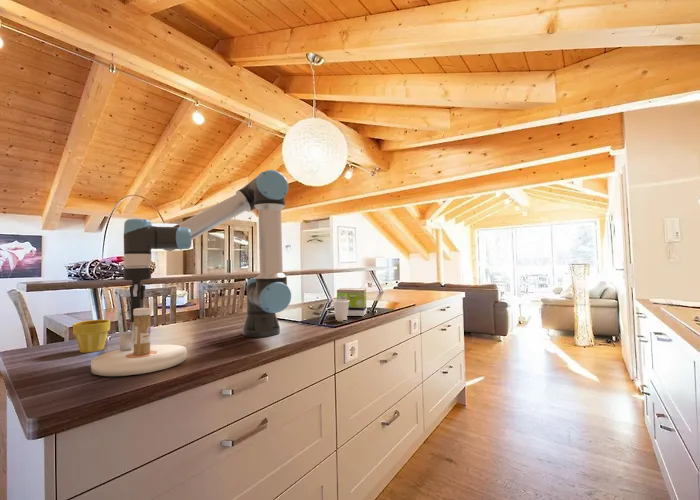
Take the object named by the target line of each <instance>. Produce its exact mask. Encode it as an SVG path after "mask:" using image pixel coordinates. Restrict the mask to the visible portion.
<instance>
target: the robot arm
mask: <svg viewBox="0 0 700 500" xmlns="http://www.w3.org/2000/svg"><path fill="white" fill-rule="evenodd" d="M288 192H289V183H288V179H287V178H286V176H285V175H284V174H283V173H282V172H279V170H275V169H268V170H265V171H261V172H260V173H259V174H258V175H257V176H256V177H254V178H253V179H252V180H250V182H249V183H247V184H245V185H244V186H242V188H240V189H237V191H235V194H234V195H232V196H230V197H228V198H226V199H224V200H223V201H220V202H218V203H217V204H214V205H212V206H211V207H209V208H206V209H205V210H203V211H201V212H199V213H197V214H195V215H192V216H191V217H190V218H187V219H186V220H184V221H182V222H180V223H177V224H176V225H173V226H155V225H152V222H151V220H149V219H146V218H145V219H143V218H129V219H126V220H125V221H124V225H123V256H124V257H121V260H122V261H123V267H125V268H124V269H123V281H131V285H130V286H129V295H130V311H131V312H130V314H131V315H130V316H131V317H130V320H128V322H129V323H131V333H132V344H133V333H134V315H133V310H134V309H136V308H145V305H144V304H145V303H144V302H145V291H146V285H145V284H144V281H145V280H147V281H148V280H151V279H152V269H151V268H150V267H151V266H152V250H164V251H167V252H173V251H175V250H181V251H182V250H189V249H191V248H192V242H193V240H195V239H197V238H198V237H200V236H202V235H204V234H206V233H207V232H210V231H212V230H214V229H215V228H217V227H219V226H220V225H222V224H224V223H226V222H227V221H230V220H231V219H233V218H235V217H237V216H239V215H241V214H243V213H244V212H248V213H249V212H252V211H253V210H257V211H258V247H259V248H258V250H259V273H258V275H257V276H256V277H253V278H250V279H248V280H247V282H246V286H245V287H246V317H245V321H244V324H243V327H242V336H243V337H246V338H247V337H248V338H263V337H272V336H276V335H279V334H280V332H281V329H280V328H281V326H280V324H279V321H278V318H277V317H278V316H277V314H278V313H281V312H283V311H285V310H286V308H288V306H290V303H291V300H292V292H291V289H290V287H289V286H288V279H287V278H288V276H287V275H286V274H285V273H284V272H283V271H284V270H283V268H284V267H283V241H282V240H283V235H282V233H283V232H282V211H283V210H284V208H286V199H285V198H286V196H287V194H288Z"/></svg>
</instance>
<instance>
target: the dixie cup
mask: <svg viewBox="0 0 700 500" xmlns="http://www.w3.org/2000/svg"><path fill="white" fill-rule="evenodd" d="M332 303H333V307H334V308H333V309H334V316H335V321H336V320H337V321H336V322H344V321H343V320H347V321H348V317H347V316H348V306H349V300H337V299H334V300H333V301H332Z"/></svg>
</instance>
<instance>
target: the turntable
mask: <svg viewBox="0 0 700 500" xmlns="http://www.w3.org/2000/svg"><path fill="white" fill-rule="evenodd" d="M119 339H120V340H119V349H117V350H113V351H109V352H106V353H102V354H100V355H97V356H96V357H94V358H92V359H91V360H90V372H91V373H92V374H93V375H96V376H102V377H125V376H132V375H133V376H134V375H135V376H136V375H143V374H147V373H152V372H158V371H162V370H165V369H169V368H171V367H175V366H177V365H179V364H181V363H183V362H184V361H186V359H187V357H188V356H187V355H188V354H187V351H188V350H187V348H186V347H185V346H183V345H179V344H150V351H151V352H150V353H149V354H146V355H141V356H136V355H133V352H134V346H133V347H132V344H133V343H132V332H124V333H119Z"/></svg>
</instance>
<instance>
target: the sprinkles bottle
mask: <svg viewBox="0 0 700 500" xmlns="http://www.w3.org/2000/svg"><path fill="white" fill-rule="evenodd" d="M151 314H152V308H151V307H144V308H136V309H134V310H133V315H134V333H133V343H132V344H133V347H134V352H133V355H136V356H141V355H146V354H149V353H150V352H151V351H150V345H151V337H152V336H151V335H152V333H151V331H152V330H151Z"/></svg>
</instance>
